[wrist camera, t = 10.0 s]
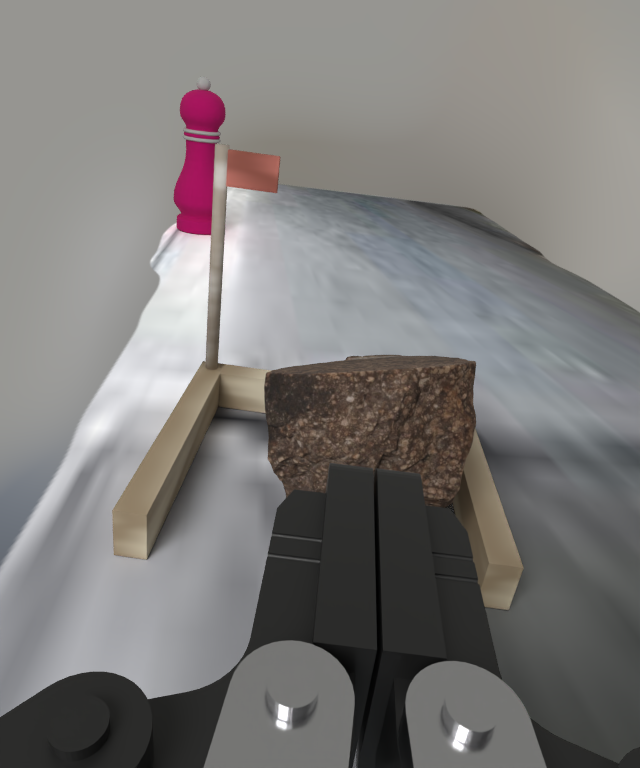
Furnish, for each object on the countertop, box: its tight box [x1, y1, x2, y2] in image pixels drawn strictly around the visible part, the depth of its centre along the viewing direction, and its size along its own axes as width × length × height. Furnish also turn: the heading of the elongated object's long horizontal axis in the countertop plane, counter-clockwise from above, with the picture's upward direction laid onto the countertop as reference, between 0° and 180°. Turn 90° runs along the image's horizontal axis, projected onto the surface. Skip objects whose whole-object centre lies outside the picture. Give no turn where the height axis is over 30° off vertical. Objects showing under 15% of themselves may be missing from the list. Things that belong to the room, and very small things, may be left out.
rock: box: [264, 355, 476, 508], centre depth 29 cm, size 12×10×10 cm
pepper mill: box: [174, 77, 225, 235], centre depth 83 cm, size 7×7×20 cm
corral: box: [112, 144, 523, 610], centre depth 31 cm, size 18×16×16 cm
